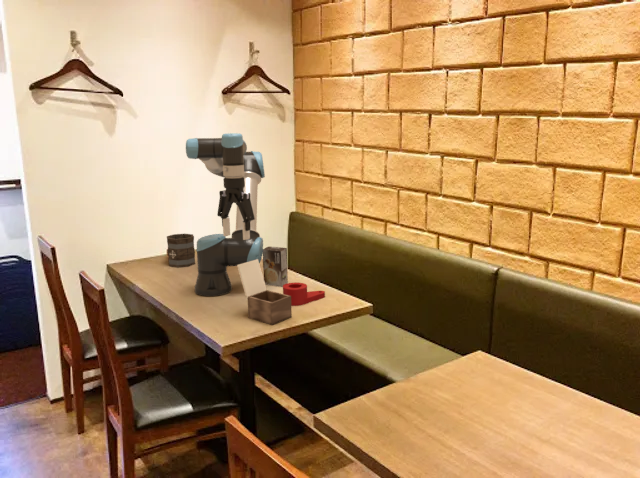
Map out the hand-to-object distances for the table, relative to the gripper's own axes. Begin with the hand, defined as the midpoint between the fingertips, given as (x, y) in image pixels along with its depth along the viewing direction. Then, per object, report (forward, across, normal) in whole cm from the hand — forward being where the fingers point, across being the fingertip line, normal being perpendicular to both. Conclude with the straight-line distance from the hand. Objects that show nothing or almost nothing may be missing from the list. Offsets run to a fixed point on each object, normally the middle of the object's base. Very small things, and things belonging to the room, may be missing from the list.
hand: (236, 237), depth 209 cm
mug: (+28, -70, +26) cm, 80 cm away
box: (+28, +16, 0) cm, 32 cm away
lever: (+28, +13, +23) cm, 38 cm away
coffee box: (+28, -10, +31) cm, 43 cm away
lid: (+20, +10, 0) cm, 22 cm away
